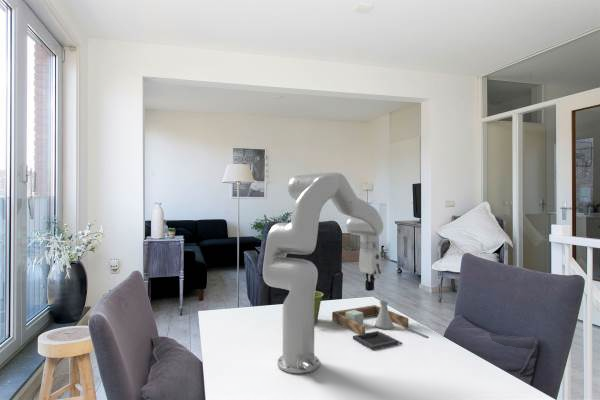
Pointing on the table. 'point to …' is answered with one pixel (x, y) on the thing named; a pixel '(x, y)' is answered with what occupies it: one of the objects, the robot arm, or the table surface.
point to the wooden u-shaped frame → (367, 311)
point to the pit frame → (375, 340)
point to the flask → (383, 317)
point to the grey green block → (355, 316)
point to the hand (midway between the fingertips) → (369, 290)
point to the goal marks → (411, 331)
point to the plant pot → (317, 305)
